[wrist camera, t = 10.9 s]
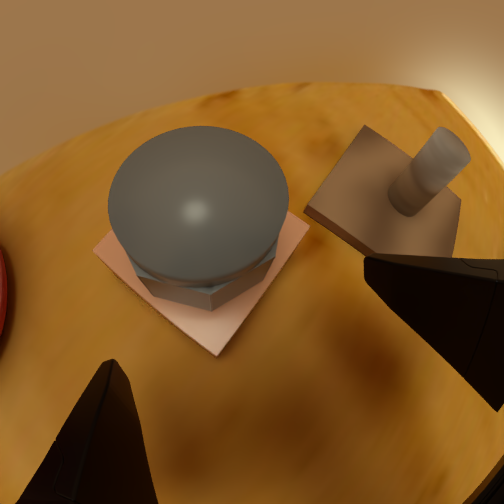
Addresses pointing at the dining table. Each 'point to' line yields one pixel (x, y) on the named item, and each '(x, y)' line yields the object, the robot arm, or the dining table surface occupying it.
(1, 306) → the plant pot
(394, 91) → the dining table surface
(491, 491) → the robot arm
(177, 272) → the cap
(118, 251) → the stand
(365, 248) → the square base plate
